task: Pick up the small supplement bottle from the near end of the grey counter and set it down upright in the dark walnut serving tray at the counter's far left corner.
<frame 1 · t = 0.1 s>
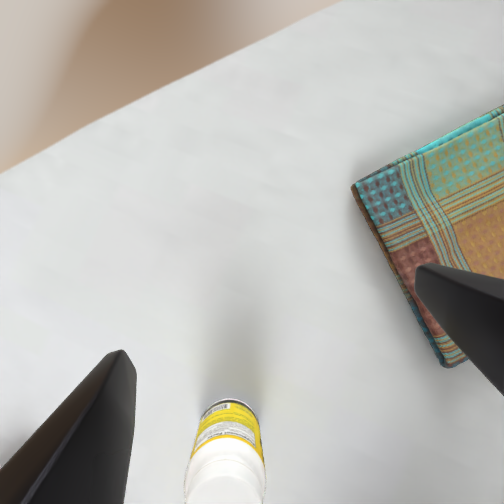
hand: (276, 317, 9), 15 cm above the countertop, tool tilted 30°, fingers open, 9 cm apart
supplement bottle: (229, 426, 23), on the countertop
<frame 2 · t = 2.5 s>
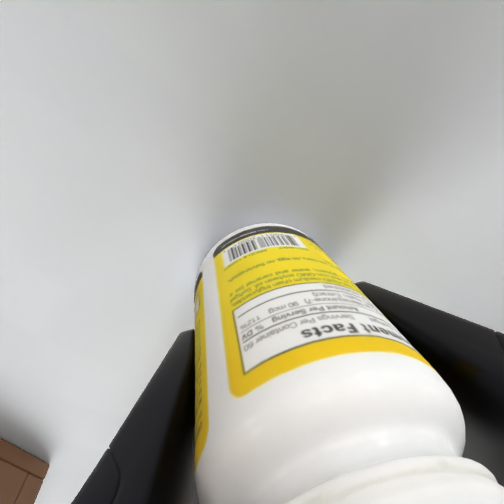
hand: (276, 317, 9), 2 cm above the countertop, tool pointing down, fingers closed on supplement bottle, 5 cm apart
supplement bottle: (260, 278, 10), on the countertop, touching gripper
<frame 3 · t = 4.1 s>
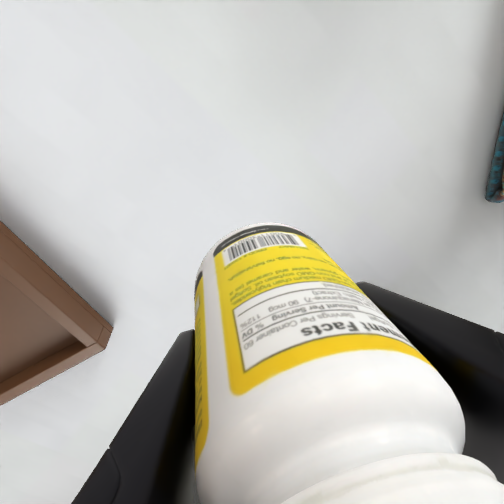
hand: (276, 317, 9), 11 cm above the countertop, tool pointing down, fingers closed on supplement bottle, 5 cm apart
supplement bottle: (260, 278, 10), point 9 cm above the countertop, touching gripper
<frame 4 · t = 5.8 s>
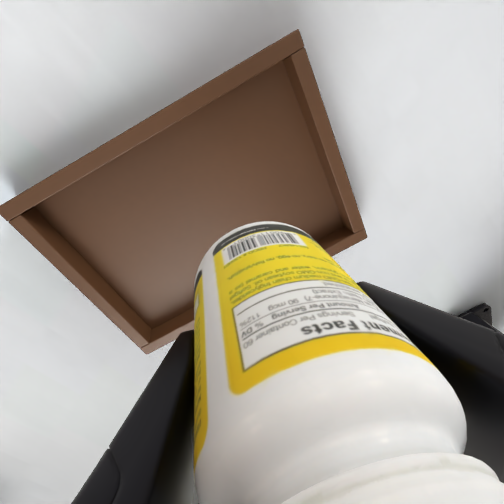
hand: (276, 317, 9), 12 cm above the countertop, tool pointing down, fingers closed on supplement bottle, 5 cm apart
tray: (205, 214, 19), on the countertop
supplement bottle: (260, 277, 10), point 10 cm above the countertop, touching gripper
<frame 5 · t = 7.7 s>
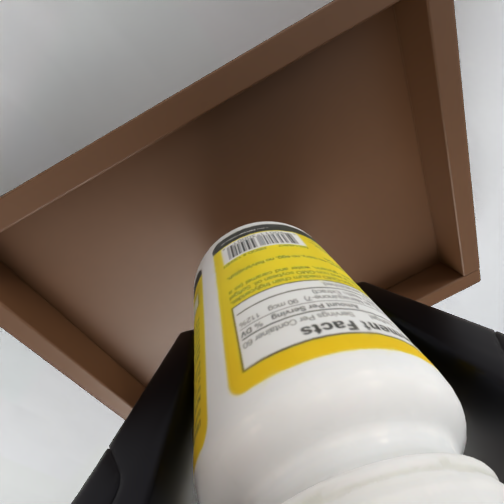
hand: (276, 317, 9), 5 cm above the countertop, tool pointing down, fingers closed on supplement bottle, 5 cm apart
tray: (247, 247, 13), on the countertop
supplement bottle: (260, 277, 10), point 3 cm above the countertop, touching gripper
when the fingers open (3 cm above the countertop, at t = 8.9 s): supplement bottle stays where it is, resting on tray.
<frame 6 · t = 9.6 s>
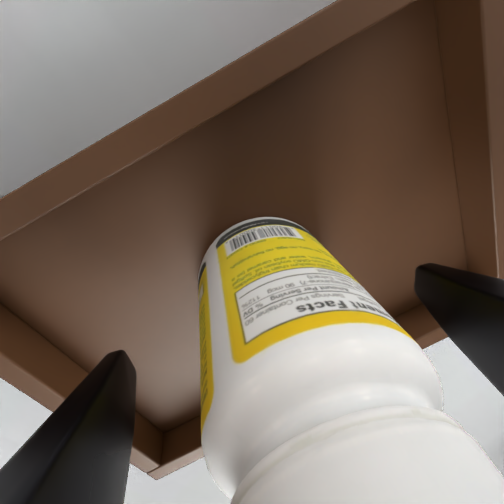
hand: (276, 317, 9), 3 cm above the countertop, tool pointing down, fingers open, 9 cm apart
tray: (257, 265, 11), on the countertop
supplement bottle: (260, 270, 11), resting on tray
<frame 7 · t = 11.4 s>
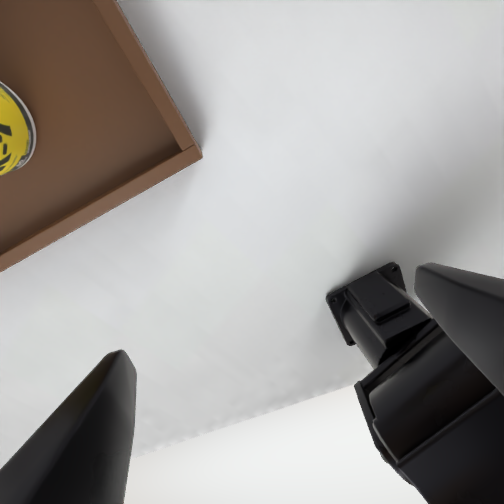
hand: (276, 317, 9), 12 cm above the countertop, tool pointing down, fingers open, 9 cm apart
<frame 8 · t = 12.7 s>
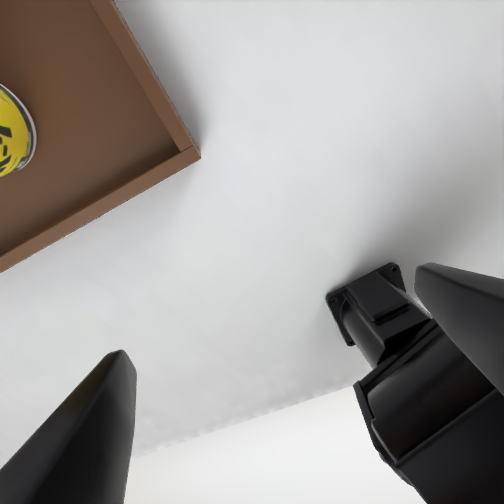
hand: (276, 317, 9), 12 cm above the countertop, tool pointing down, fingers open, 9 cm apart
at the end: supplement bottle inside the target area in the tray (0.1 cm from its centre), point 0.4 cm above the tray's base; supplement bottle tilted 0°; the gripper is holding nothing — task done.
